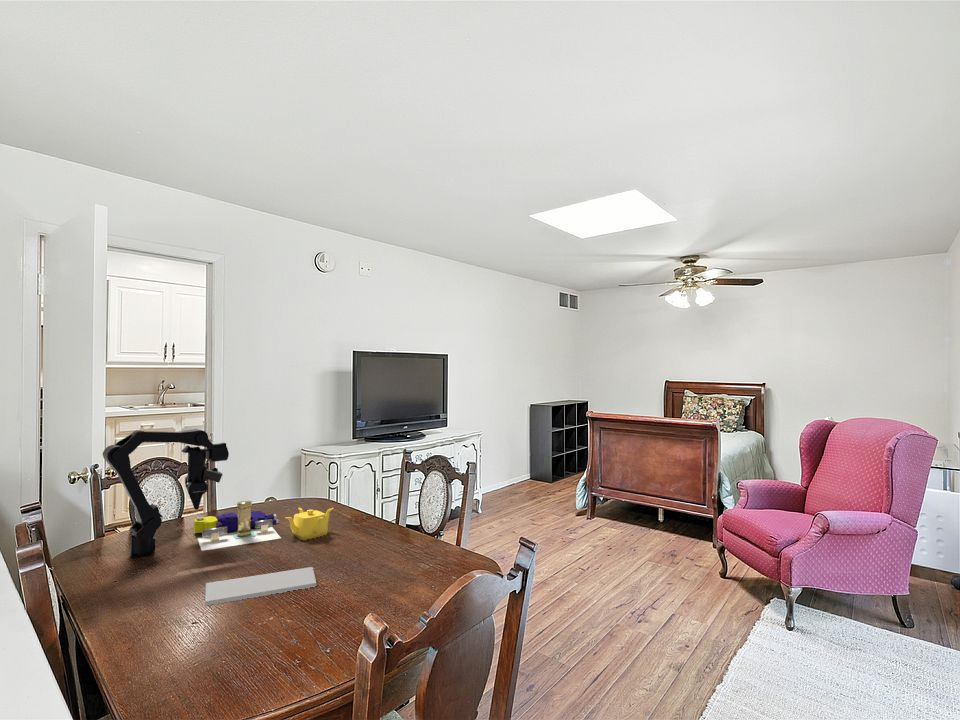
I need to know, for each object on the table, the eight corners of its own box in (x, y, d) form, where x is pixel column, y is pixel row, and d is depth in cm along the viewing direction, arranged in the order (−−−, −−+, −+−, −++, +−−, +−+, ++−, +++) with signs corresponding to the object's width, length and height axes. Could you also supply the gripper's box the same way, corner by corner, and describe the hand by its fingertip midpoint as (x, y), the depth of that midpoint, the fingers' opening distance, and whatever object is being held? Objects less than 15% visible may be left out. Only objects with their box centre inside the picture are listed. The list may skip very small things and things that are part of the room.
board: (201, 554, 175) (201, 550, 175) (197, 541, 188) (197, 537, 188) (281, 541, 189) (281, 537, 189) (271, 529, 202) (272, 526, 202)
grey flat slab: (204, 608, 137) (205, 594, 137) (205, 590, 148) (206, 578, 148) (316, 588, 150) (317, 576, 150) (310, 573, 161) (310, 562, 161)
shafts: (202, 543, 182) (202, 531, 182) (201, 539, 186) (201, 527, 186) (273, 532, 195) (273, 521, 195) (270, 528, 200) (270, 517, 200)
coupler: (237, 537, 188) (238, 505, 188) (235, 533, 192) (236, 502, 192) (252, 535, 191) (252, 503, 191) (249, 531, 195) (250, 500, 195)
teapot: (333, 529, 204) (333, 505, 204) (323, 541, 190) (324, 515, 190) (296, 529, 204) (297, 505, 204) (284, 541, 189) (284, 515, 190)
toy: (271, 525, 214) (190, 532, 195) (273, 508, 214) (193, 513, 196) (280, 532, 204) (196, 540, 186) (282, 514, 205) (198, 520, 187)
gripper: (224, 465, 184) (223, 509, 183) (218, 458, 199) (217, 498, 199) (188, 468, 178) (187, 513, 177) (185, 460, 193) (184, 502, 193)
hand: (195, 506), depth 187 cm, fingers open, 9 cm apart
